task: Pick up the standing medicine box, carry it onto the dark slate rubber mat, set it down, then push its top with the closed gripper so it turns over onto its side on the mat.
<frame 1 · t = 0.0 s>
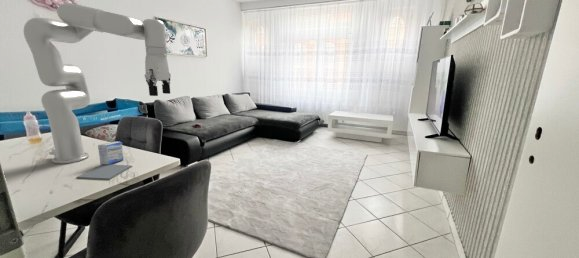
hand: (160, 94, 104), 31 cm above the table, fingers open, 9 cm apart
medicine box: (112, 162, 110), on the table, touching mat
mat: (106, 172, 100), on the table
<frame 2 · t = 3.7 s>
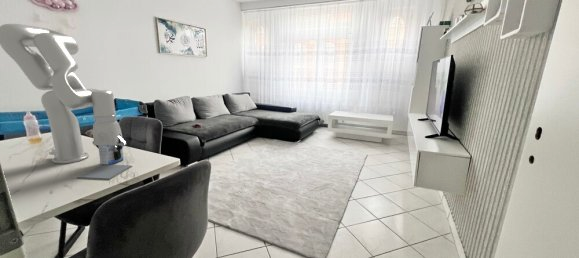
hand: (111, 158, 110), 2 cm above the table, fingers closed on medicine box, 5 cm apart
medicine box: (112, 162, 110), on the table, touching gripper, mat
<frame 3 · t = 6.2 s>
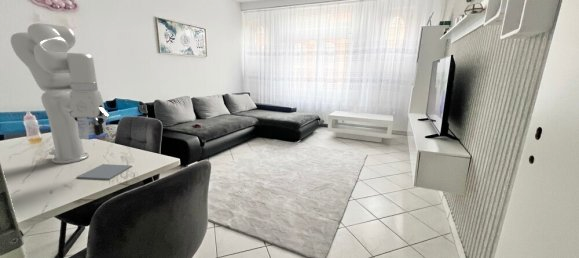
hand: (92, 133, 97), 16 cm above the table, fingers closed on medicine box, 4 cm apart
medicine box: (93, 138, 97), point 14 cm above the table, touching gripper
when the fingers open (3 cm above the table, at t = 8.9 s): medicine box stays where it is, resting on mat.
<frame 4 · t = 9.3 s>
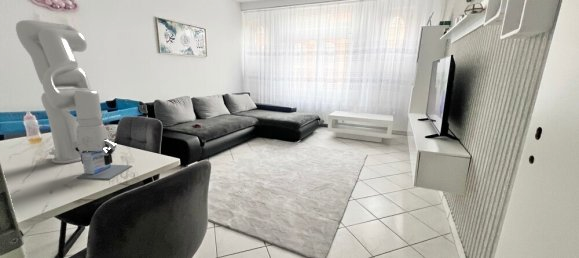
hand: (97, 163, 100), 4 cm above the table, fingers open, 9 cm apart
medicine box: (98, 170, 100), resting on mat
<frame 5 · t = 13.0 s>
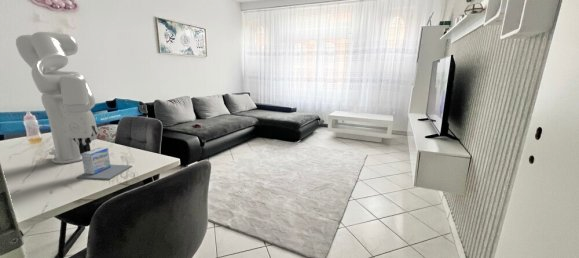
hand: (85, 153, 99), 8 cm above the table, fingers closed
medicine box: (98, 170, 100), resting on mat, touching gripper
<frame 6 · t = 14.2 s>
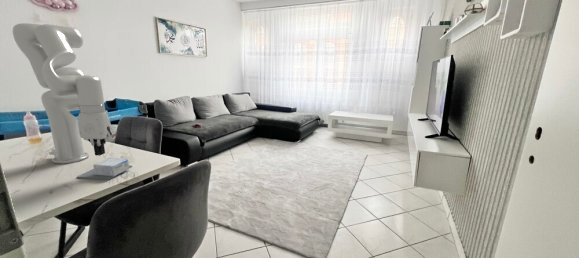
hand: (100, 154, 99), 8 cm above the table, fingers closed
medicine box: (101, 165, 100), point 3 cm above the table, touching mat
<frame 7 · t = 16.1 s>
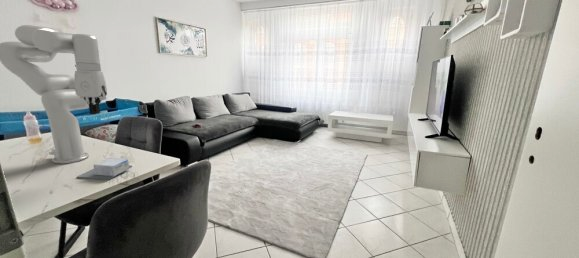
hand: (95, 113, 101), 23 cm above the table, fingers closed
nothing on the table moved.
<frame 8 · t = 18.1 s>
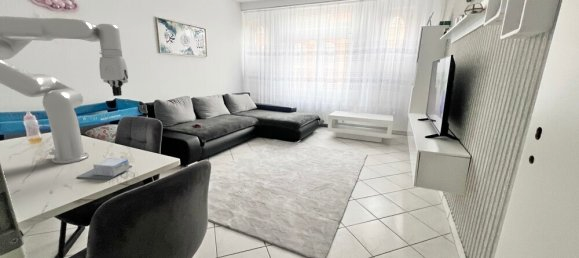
hand: (117, 95, 113), 29 cm above the table, fingers closed
nothing on the table moved.
at the end: medicine box tilted 90°; medicine box inside the target area (2.7 cm from its centre), point 2.8 cm above the table; the gripper is holding nothing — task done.
